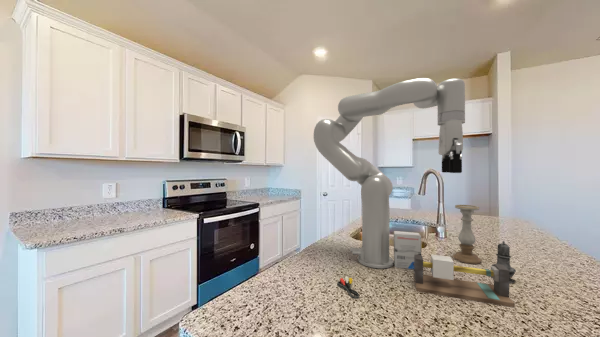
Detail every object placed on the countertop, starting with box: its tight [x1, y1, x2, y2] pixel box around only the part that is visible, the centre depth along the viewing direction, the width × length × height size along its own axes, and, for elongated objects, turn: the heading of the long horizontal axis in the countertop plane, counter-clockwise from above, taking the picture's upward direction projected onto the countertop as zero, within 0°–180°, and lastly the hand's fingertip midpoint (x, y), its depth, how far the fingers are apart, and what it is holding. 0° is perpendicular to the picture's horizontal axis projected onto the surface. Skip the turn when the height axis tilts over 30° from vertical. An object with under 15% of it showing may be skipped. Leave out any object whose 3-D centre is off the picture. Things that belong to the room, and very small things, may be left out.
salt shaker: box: [490, 240, 517, 284], centre depth 76 cm, size 6×6×12 cm
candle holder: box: [452, 204, 482, 265], centre depth 92 cm, size 9×9×20 cm
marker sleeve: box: [430, 254, 455, 280], centre depth 70 cm, size 5×4×5 cm
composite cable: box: [336, 275, 360, 300], centre depth 69 cm, size 10×5×2 cm, turn 3°
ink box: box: [393, 230, 422, 270], centre depth 85 cm, size 9×5×12 cm, turn 72°
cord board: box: [412, 254, 516, 308], centre depth 69 cm, size 22×10×8 cm, turn 69°
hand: (451, 172), depth 78 cm, fingers open, 9 cm apart
